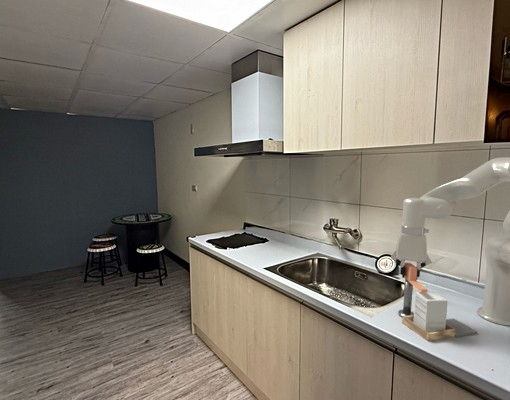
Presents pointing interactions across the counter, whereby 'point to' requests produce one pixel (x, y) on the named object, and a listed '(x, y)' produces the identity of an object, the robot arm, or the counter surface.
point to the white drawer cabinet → (430, 311)
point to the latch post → (407, 300)
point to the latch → (413, 276)
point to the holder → (431, 336)
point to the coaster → (460, 328)
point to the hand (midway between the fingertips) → (409, 277)
